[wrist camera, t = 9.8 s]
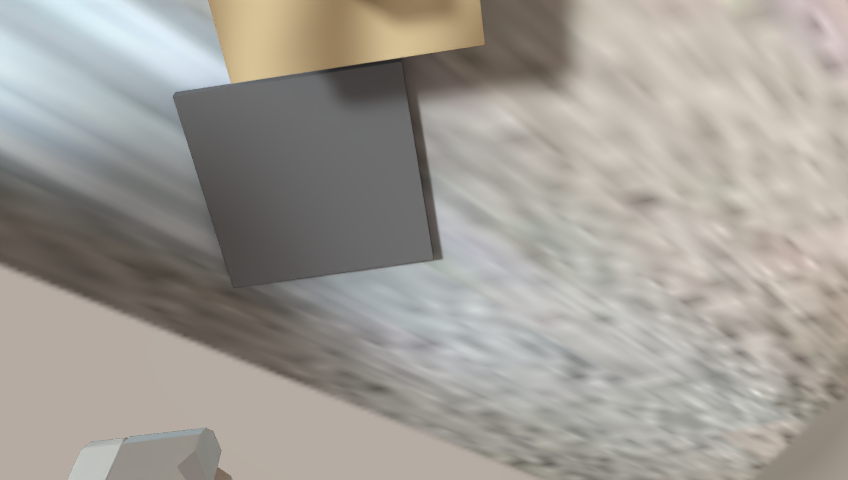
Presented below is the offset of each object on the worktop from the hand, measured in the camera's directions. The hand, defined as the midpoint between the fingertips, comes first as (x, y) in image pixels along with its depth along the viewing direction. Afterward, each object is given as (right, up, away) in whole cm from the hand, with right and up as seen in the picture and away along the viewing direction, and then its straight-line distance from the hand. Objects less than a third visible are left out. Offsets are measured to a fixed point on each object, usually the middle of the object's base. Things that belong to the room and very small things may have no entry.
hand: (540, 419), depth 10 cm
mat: (-7, +5, +31) cm, 32 cm away
